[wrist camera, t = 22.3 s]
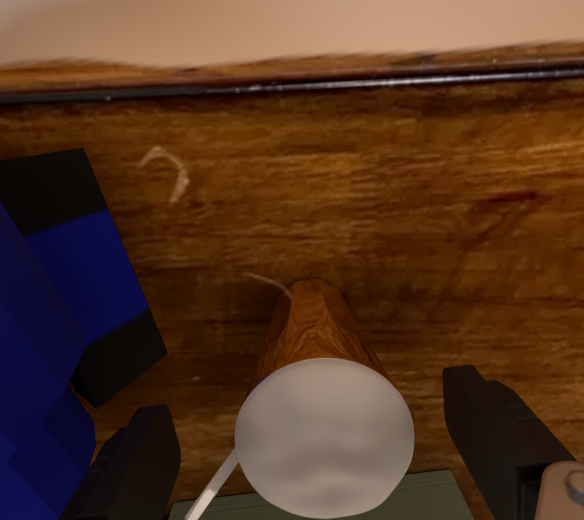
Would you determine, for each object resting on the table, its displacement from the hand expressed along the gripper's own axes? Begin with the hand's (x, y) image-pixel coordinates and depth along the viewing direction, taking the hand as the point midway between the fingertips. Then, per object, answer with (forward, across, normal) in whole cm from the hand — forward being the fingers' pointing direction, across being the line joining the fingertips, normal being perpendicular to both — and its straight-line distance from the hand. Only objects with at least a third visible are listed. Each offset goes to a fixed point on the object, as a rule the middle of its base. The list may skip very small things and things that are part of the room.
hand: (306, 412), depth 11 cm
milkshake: (+7, 0, 0) cm, 7 cm away
